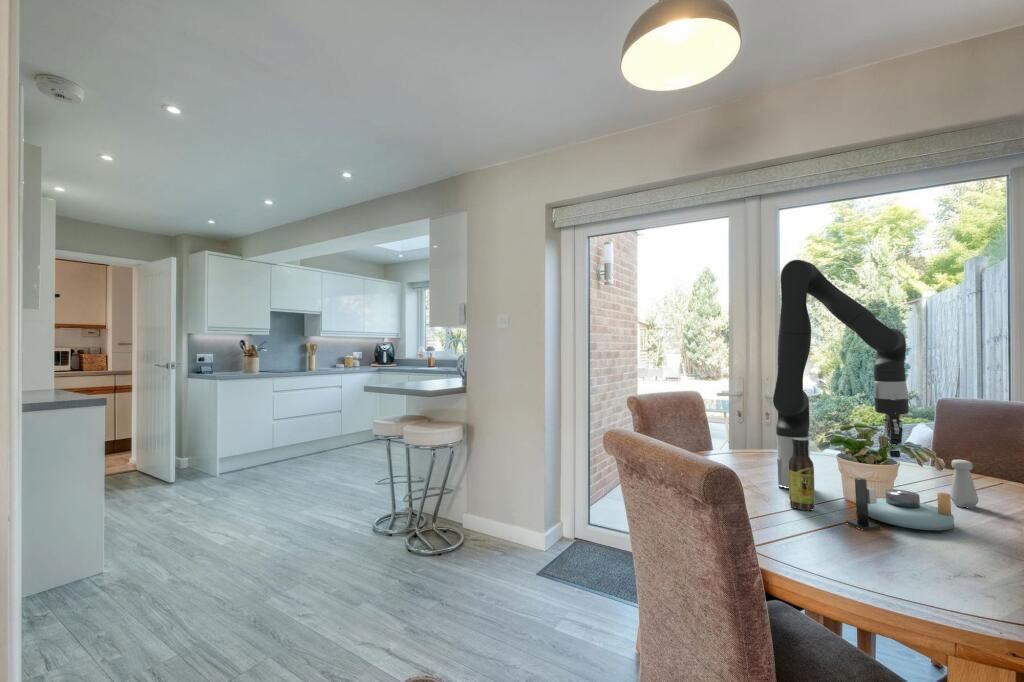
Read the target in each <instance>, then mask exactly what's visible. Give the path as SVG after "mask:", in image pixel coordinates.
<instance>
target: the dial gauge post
mask: <svg viewBox="0 0 1024 682" xmlns="http://www.w3.org/2000/svg"><path fill="white" fill-rule="evenodd" d="M867 483H868V482H867V478H863V477H862V478H861V477H855V478H854V490H855V491H854V492H855V509H856V519H849V520H848V519H846V520H845V524H846V523H848V524H850V525H849V526H851V525H852V526H851V527H853V526H855V527H854V528H856V527H858V528H860V529H859V530H861V529H863V530H867V531H873V530H872V529H876V530H881V529H882V527H881V525H880V524H877V523H874V522H872V521H869V516H868V504H876V503H877V499H878V498H877V489H876V488H873V487H870V486H868V484H867ZM848 524H847V525H848ZM858 528H857V529H858ZM863 530H862V531H863Z"/></svg>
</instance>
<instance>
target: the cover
mask: <svg viewBox="0 0 1024 682" xmlns="http://www.w3.org/2000/svg"><path fill="white" fill-rule="evenodd" d="M884 491H885V499H886V503H887V504H889V505H892V506H896V507H901V508H909V509H917V508H920V503H921V501H920V500H921V499H920V498H921V497H920V494H919V493H916V492H914V491H910V490H905V489H895V488H893V489H892V488H890V489H886V490H884Z"/></svg>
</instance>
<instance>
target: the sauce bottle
mask: <svg viewBox="0 0 1024 682" xmlns="http://www.w3.org/2000/svg"><path fill="white" fill-rule="evenodd" d="M792 443H793V456H792V457H791V459H790V460H789V489H788V495H789V496H788V497H789V498H788V499H789V505H791V506H793V507H792V508H794V507H796V508H799V509H798V510H801V509H804V510H803V511H813V510H815V508H816V507H815V502H816V494H815V492H816V491H815V466H814V462H813V461H812V459H811V457H810V458H809V456H808V454H809V453H808V445H809V446H810V439H809V440H808V439H804V438H793V439H792ZM791 506H790V507H791ZM796 508H795V509H796ZM812 509H813V510H812Z"/></svg>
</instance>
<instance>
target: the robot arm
mask: <svg viewBox="0 0 1024 682" xmlns="http://www.w3.org/2000/svg"><path fill="white" fill-rule="evenodd" d="M779 277H780V278H779V279H780V295H781V296H780V298H781V300H780V301H781V303H780V304H781V305H780V313H779V324H778V325H779V328H778V336H777V338H778V339H777V377H776V381H775V387H774V392H773V396H772V397H773V398H772V403H773V406H774V408H775V410H776V411H777V423H776V427H775V432H776V433H775V434H776V449H777V450H776V451H777V452H776V453H777V457H776V458H777V459H776V461H777V463H776V464H777V482H778V485H782V486H786V487H789V460H790V459H791V457H792V456H793V443H792V439H793V438H804V439H808V440H809V441H810V434H809V432H810V424H811V423H810V422H811V421H810V404H809V403H810V401H809V396H808V394H807V393H806V392H805V391H804V373H805V369H806V365H807V363H808V359H809V355H810V352H811V351H810V350H811V344H812V325H811V320H810V319H811V318H810V315H809V311H808V306H807V296H808V295H810V296H812V297H814V299H816V300H817V301H819V302H820V303H821V304H822V305H823V306H824V307H825V308H826V309H827V310H828V311H829V313H831V314H832V316H834V317H835V318H836V319H837V320H839V321H840V322H841V323H842V324H844V325H845V326H846V327H847V328H849V329H850V330H851V331H853V332H854V333H856V335H857V336H858V337H859V338H860V339H861V340H862V341H864V343H866V344H867V345H868V346H869V347H870V348H872V349H873V350H875V351H876V361H875V362H874V363H873V364H874V365H873V379H874V385H873V397H874V399H873V400H874V411H875V412H876V413H877V414H882V415H885V416H884V418H882V424H883V427H884V434H885V435H886V436H887V437H888V439H889V441H888V442H887V443H888V448H889V447H890V444H896V445H897V444H900V445H901V444H902V442H903V440H902V439H903V431H904V429H903V424H904V422H903V420H902V419H901V418H900V416H901V415H907V414H909V413H910V407H909V394H908V386H907V382H906V379H907V378H906V370H905V360H906V350H907V349H906V348H907V341H906V337H905V335H904V334H903V333H902V331H900V330H899V329H896V328H890V327H889V326H887V325H886V324H884V323H883V322H882V321H880V320H879V319H877V317H876V314H874V313H873V312H872V311H870V309H868V308H866V307H865V306H863V305H862V304H861V303H859V302H858V301H856V300H855V299H853V298H852V297H850V296H849V295H848V294H847V293H846V292H843V291H842V290H840V289H839V288H838V287H836V286H835V284H833V283H832V282H831V281H830V280H828V278H827V277H826V276H825V275H824V274H823V273H822V271H820V270H819V269H818V268H817V266H816V265H814V264H813V263H811V262H809V261H806V260H802V259H791V260H790V261H788V262H786V263H785V264H784V266H783V267H782V269H781V271H780V276H779ZM895 413H896V414H895ZM888 428H889V430H888ZM886 436H885V437H886ZM892 448H893V447H892ZM810 451H811V450H810V444H809V445H808V453H809V454H808V456H809V458H810V459H811V455H810ZM888 451H889V450H888ZM888 453H889V454H888V455H889V456H890V457H891V458H901V451H900V452H899V451H889V452H888Z"/></svg>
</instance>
